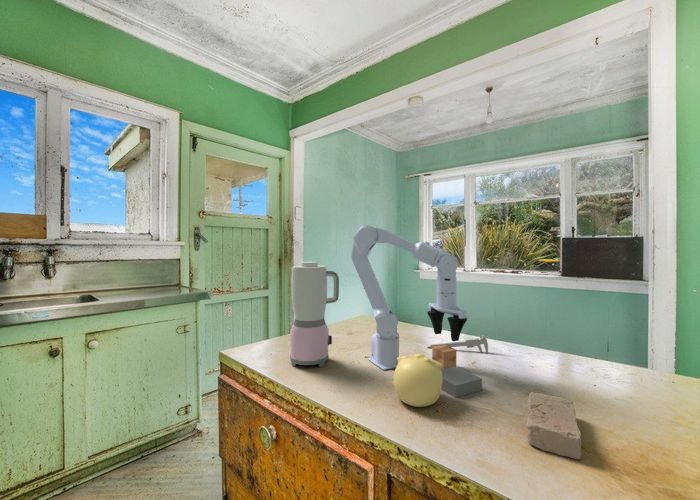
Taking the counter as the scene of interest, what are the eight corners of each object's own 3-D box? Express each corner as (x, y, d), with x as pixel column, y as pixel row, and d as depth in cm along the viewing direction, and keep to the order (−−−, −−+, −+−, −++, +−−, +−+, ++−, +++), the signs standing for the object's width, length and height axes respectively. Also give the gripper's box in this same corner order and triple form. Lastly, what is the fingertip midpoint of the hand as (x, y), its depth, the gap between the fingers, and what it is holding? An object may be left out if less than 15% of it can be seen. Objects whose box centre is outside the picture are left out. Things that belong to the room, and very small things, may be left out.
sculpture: (445, 393, 79) (445, 351, 78) (438, 417, 68) (438, 368, 67) (400, 385, 83) (400, 345, 83) (387, 406, 72) (387, 360, 72)
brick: (528, 408, 72) (528, 388, 72) (572, 418, 68) (573, 397, 68) (526, 449, 58) (527, 424, 58) (582, 465, 54) (582, 438, 54)
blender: (287, 369, 93) (286, 263, 93) (292, 355, 106) (291, 261, 105) (339, 368, 94) (339, 263, 94) (338, 354, 107) (338, 260, 106)
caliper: (487, 353, 108) (487, 335, 108) (487, 354, 107) (488, 335, 107) (427, 347, 113) (427, 330, 113) (427, 348, 112) (427, 331, 112)
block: (432, 366, 96) (432, 347, 96) (444, 363, 98) (444, 344, 98) (443, 372, 92) (443, 352, 91) (456, 369, 94) (456, 349, 94)
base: (431, 382, 84) (431, 371, 84) (456, 376, 88) (456, 366, 88) (455, 397, 76) (455, 385, 76) (482, 390, 80) (482, 378, 80)
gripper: (474, 295, 89) (474, 342, 89) (440, 288, 102) (440, 329, 103) (455, 296, 86) (455, 345, 86) (423, 289, 99) (423, 332, 100)
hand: (446, 337), depth 94 cm, fingers open, 7 cm apart
